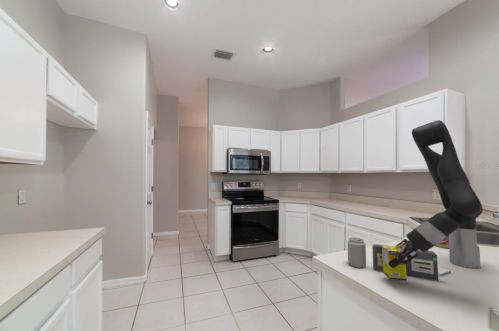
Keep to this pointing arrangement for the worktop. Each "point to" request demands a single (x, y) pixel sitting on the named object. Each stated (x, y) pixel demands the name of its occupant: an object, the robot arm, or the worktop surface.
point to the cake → (444, 243)
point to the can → (356, 252)
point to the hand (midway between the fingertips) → (389, 261)
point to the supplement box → (390, 272)
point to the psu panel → (412, 263)
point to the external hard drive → (443, 271)
